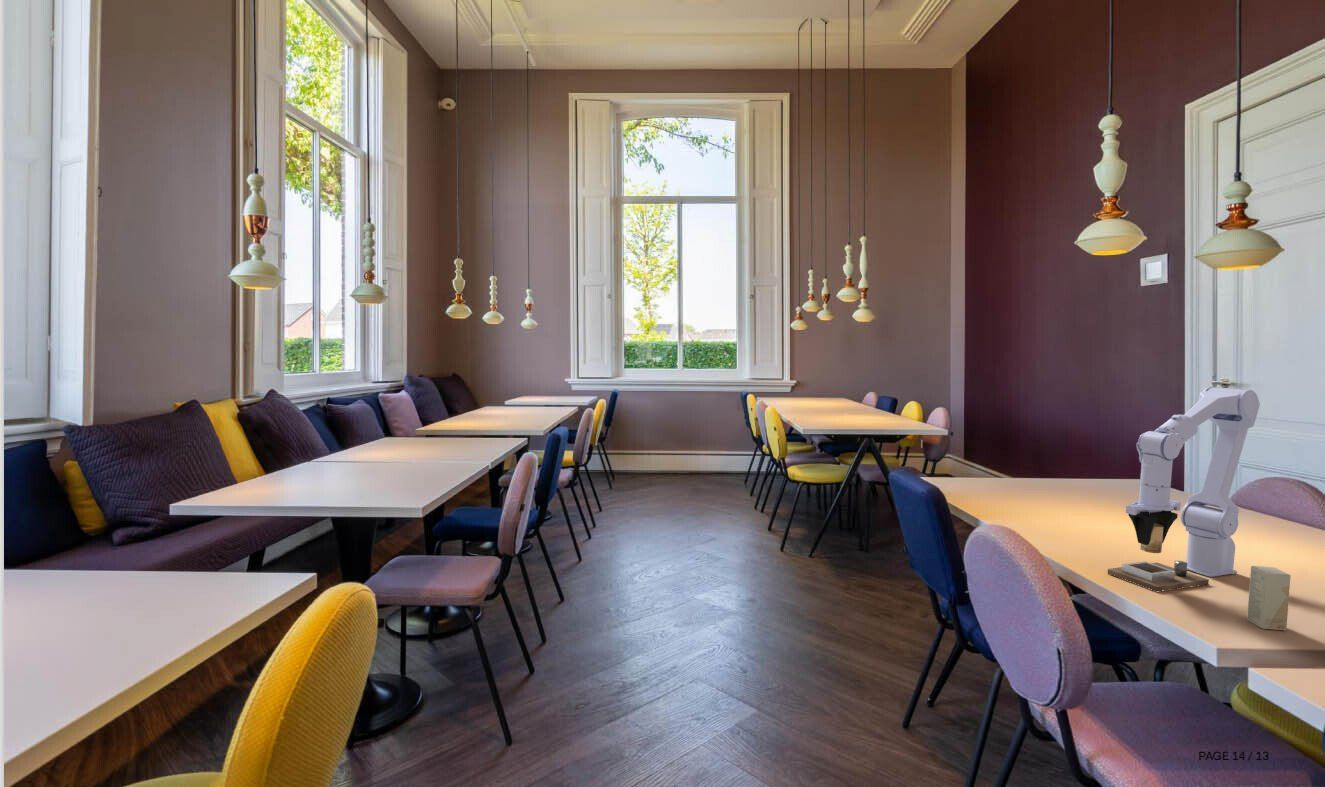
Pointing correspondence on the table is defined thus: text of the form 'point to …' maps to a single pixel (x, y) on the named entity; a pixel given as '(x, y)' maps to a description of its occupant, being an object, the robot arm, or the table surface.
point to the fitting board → (1158, 575)
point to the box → (1268, 597)
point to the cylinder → (1154, 540)
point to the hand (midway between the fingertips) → (1150, 542)
